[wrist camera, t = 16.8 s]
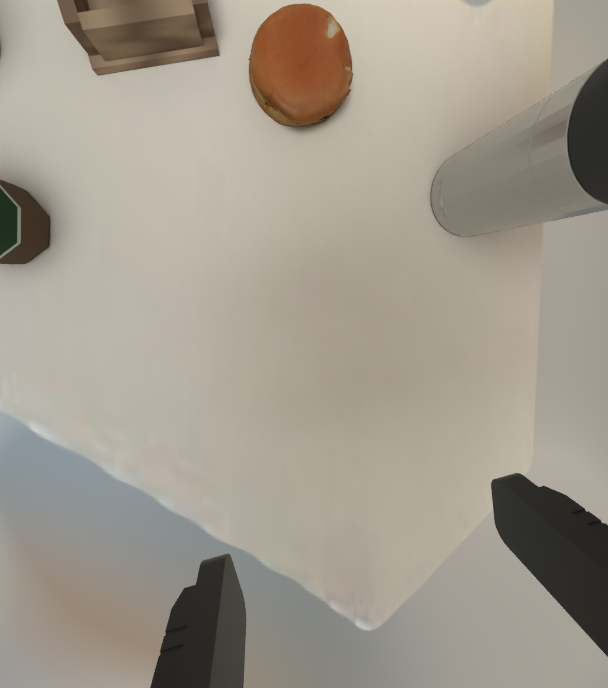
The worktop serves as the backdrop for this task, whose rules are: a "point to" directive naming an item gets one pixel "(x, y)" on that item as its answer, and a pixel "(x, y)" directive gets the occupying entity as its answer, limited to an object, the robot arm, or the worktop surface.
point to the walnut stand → (140, 32)
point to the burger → (300, 65)
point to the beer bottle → (21, 225)
